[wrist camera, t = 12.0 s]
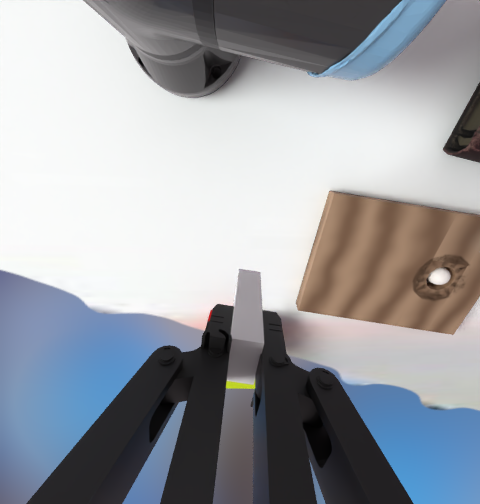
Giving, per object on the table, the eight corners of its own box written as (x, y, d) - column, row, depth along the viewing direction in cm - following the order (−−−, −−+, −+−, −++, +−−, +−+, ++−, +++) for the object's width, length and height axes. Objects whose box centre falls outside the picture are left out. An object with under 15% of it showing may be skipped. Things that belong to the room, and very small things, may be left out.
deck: (295, 302, 46) (298, 310, 44) (329, 190, 37) (334, 193, 35) (443, 325, 46) (453, 334, 44) (511, 220, 37) (528, 224, 35)
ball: (451, 264, 40) (431, 268, 43) (440, 264, 39) (419, 268, 41) (457, 283, 39) (436, 286, 42) (445, 283, 38) (424, 286, 41)
